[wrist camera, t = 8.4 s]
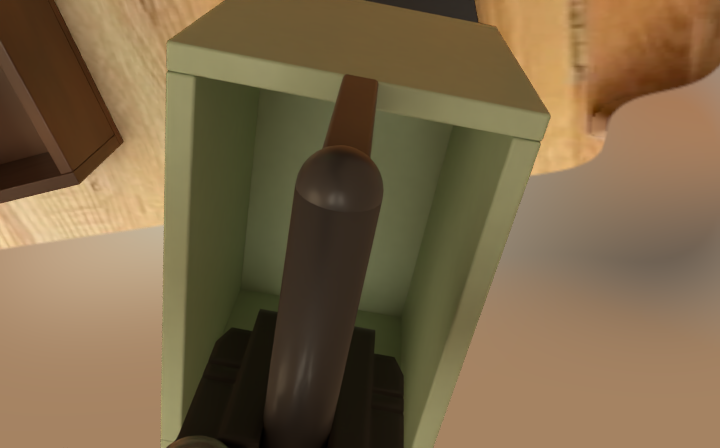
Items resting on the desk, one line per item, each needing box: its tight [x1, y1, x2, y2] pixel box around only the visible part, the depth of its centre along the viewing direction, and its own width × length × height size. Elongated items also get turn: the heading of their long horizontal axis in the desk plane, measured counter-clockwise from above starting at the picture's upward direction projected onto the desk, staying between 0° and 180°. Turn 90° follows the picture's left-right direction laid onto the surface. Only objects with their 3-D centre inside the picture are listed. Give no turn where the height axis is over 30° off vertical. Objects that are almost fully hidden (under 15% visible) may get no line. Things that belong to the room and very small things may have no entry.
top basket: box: [160, 0, 550, 448], centre depth 16 cm, size 13×8×13 cm, turn 170°
